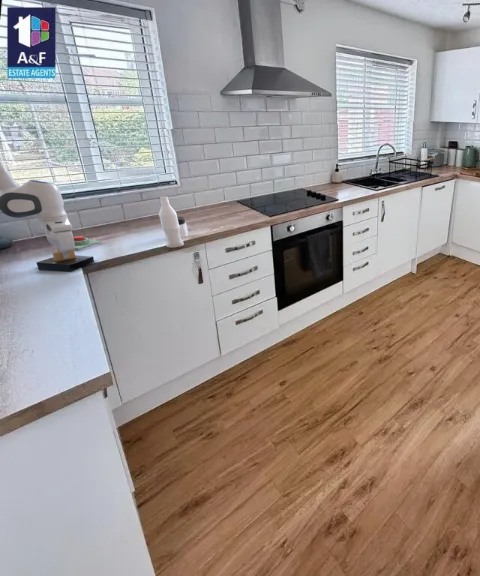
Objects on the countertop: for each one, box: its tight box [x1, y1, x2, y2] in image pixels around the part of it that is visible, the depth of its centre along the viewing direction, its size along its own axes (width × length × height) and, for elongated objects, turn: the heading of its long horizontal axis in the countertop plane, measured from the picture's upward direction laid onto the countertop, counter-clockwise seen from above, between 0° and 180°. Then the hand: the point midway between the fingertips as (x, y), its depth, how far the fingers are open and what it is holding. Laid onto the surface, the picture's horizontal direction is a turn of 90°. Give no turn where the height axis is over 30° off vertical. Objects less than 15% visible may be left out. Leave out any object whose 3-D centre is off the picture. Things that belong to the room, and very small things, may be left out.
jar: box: [177, 216, 189, 239], centre depth 185 cm, size 9×8×12 cm
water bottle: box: [158, 195, 185, 249], centre depth 169 cm, size 7×7×25 cm
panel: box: [35, 254, 95, 273], centre depth 148 cm, size 14×11×3 cm
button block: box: [74, 237, 102, 251], centre depth 172 cm, size 10×13×4 cm
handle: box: [51, 250, 76, 261], centre depth 147 cm, size 6×2×4 cm, turn 143°
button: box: [73, 235, 85, 241], centre depth 171 cm, size 4×4×2 cm
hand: (64, 257), depth 147 cm, fingers closed on handle, 2 cm apart
